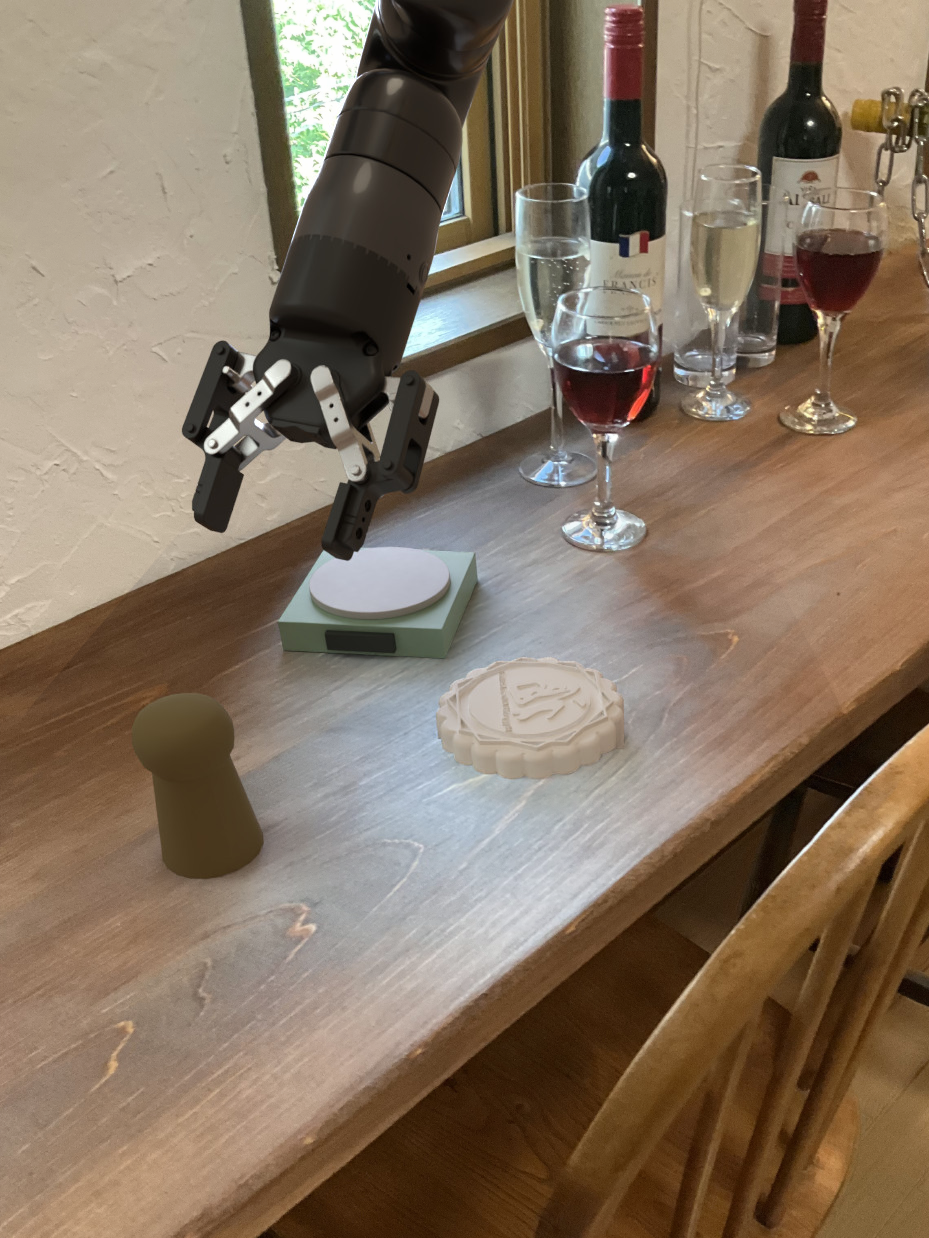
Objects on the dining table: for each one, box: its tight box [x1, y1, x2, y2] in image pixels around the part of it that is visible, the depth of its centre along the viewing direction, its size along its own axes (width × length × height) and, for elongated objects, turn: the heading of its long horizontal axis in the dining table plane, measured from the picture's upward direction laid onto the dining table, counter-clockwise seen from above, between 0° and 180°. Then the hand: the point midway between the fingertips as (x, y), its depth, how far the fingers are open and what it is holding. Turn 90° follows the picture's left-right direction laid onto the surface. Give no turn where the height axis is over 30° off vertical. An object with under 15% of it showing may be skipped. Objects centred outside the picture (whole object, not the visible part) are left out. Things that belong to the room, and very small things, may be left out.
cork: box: [131, 692, 265, 880], centre depth 70 cm, size 6×6×11 cm
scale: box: [277, 546, 479, 659], centre depth 95 cm, size 12×12×3 cm
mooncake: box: [435, 656, 625, 780], centre depth 82 cm, size 12×12×4 cm
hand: (270, 541), depth 70 cm, fingers open, 8 cm apart
